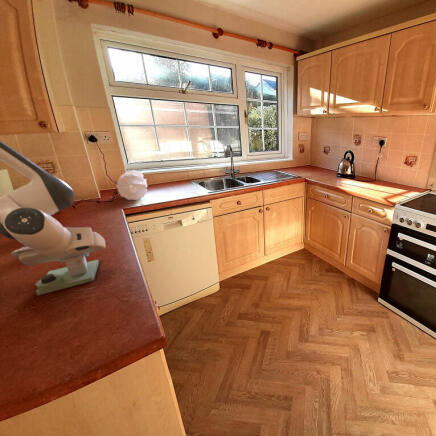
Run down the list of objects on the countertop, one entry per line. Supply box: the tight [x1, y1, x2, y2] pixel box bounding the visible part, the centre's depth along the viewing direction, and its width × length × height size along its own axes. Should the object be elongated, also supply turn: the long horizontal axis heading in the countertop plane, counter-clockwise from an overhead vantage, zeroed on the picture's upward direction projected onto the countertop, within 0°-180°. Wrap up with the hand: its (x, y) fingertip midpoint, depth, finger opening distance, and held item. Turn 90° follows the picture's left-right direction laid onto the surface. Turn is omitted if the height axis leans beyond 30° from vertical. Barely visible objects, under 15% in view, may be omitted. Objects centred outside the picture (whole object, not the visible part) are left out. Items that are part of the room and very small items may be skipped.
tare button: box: [40, 274, 55, 284], centre depth 77 cm, size 3×3×2 cm
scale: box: [35, 259, 100, 296], centre depth 83 cm, size 14×14×3 cm
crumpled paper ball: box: [115, 169, 148, 201], centre depth 171 cm, size 18×18×25 cm
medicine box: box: [63, 255, 88, 277], centre depth 83 cm, size 8×4×9 cm, turn 39°
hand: (75, 256), depth 84 cm, fingers closed on medicine box, 5 cm apart
